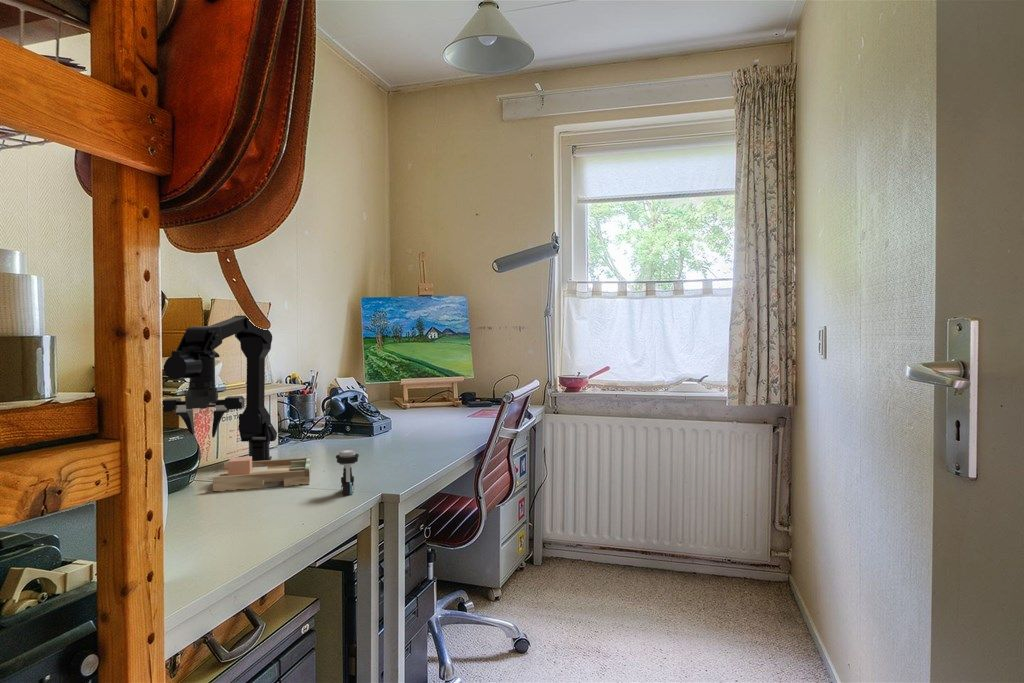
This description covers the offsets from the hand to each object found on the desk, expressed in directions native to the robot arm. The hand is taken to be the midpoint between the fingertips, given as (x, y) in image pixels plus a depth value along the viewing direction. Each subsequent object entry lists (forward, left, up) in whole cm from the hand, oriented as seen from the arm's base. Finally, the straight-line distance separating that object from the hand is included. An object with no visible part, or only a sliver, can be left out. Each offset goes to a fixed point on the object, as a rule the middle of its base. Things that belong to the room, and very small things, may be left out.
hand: (203, 437), depth 146 cm
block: (0, +9, -10) cm, 13 cm away
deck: (0, +15, -12) cm, 19 cm away
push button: (+18, +35, -12) cm, 41 cm away
